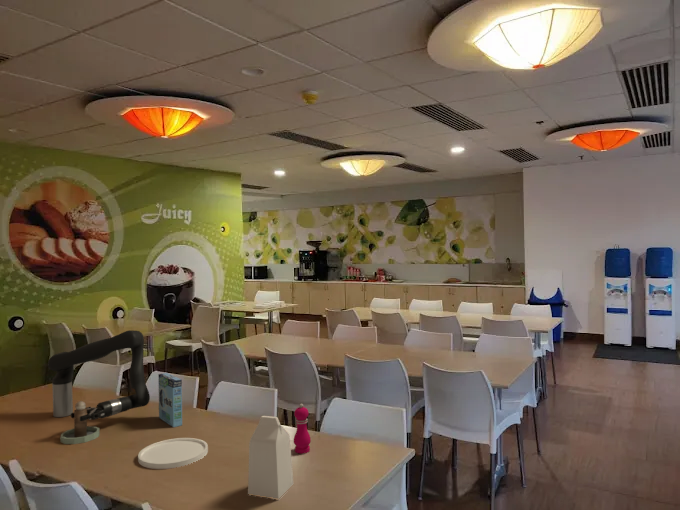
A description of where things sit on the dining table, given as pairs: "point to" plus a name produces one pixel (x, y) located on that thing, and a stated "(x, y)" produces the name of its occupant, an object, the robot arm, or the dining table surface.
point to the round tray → (69, 437)
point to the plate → (172, 453)
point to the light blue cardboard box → (170, 399)
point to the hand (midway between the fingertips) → (75, 417)
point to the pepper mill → (302, 431)
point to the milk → (270, 459)
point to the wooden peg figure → (79, 426)
